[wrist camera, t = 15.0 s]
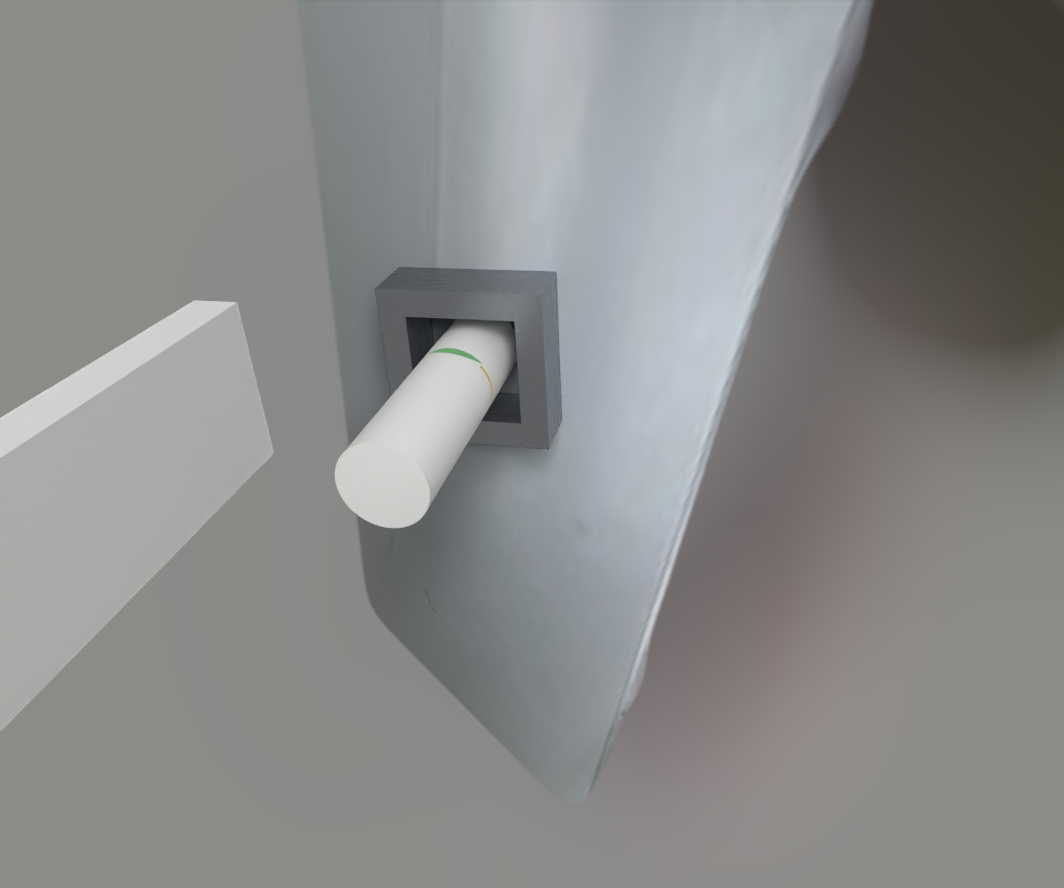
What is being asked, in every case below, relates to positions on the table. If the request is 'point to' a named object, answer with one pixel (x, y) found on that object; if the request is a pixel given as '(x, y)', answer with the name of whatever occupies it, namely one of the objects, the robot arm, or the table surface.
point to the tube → (426, 424)
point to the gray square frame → (482, 297)
